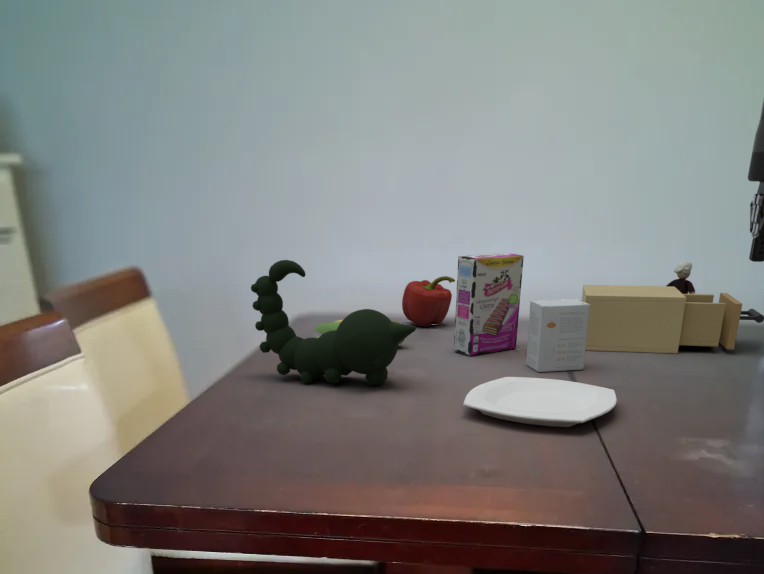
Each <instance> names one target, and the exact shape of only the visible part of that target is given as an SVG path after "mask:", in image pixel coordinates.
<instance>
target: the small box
mask: <svg viewBox="0 0 764 574" xmlns="http://www.w3.org/2000/svg"><path fill="white" fill-rule="evenodd" d="M589 308H590V304H588V303H585V302H582V300H581V299H577V298H563V299H562V298H561V299H541V300H530V302H529V316H528V330H527V331H528V332H527V346H526V347H527V348H526V362H525V364H526V366H528V367H530V368H531V369H532V370H534V371H535V372H536V373H547V372H548V373H549V372H566V371H580V370H581V371H582V370H584V368H585V361H586V360H585V358H586V350H585V349H586V339H587V328H588V319H589Z"/></svg>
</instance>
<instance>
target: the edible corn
mask: <svg viewBox="0 0 764 574" xmlns="http://www.w3.org/2000/svg"><path fill="white" fill-rule="evenodd" d="M342 320H343V319H338V320H334V321H330V322H323V323H319V324H317V325H316V326H314V327H313V330H314V331H315V332H316V333H318V334H321V335H322V334H324V333H325V332H328V331H335V330H337V328H338V326H339V324H340V323H341V321H342ZM391 321H392V322H393V323H394V324H401V323H400V322H399V321H393V320H391ZM321 335H318V336H316V335H315V338H319V337H320V336H321ZM407 337H408V336H407ZM407 337H406V338H404V339H403V340H402V341H400V342H399V344H398V346H399V345H401V344H402V343H403V342H404V341H405V340H406V339H407Z"/></svg>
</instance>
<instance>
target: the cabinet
mask: <svg viewBox="0 0 764 574" xmlns="http://www.w3.org/2000/svg"><path fill="white" fill-rule="evenodd" d="M581 301H582V302H585V303H588V304H590V308H589V319H588V328H587V339H586V349H585V351H593V352H595V351H596V352H598V351H600V352H620V353H621V352H623V353H651V354H652V353H653V354H678V353H679V348H680V345H679V342H680V335H681V329H682V323H683V316H684V310H685V303H686V297H685V296H684V295H683V294H682V293H681V292H680V291H679V290H678V289H677V288H675V287H670V286H666V285H663V286H662V285H661V286H660V285H616V284H615V285H612V284H611V285H609V284H607V285H606V284H582V293H581Z"/></svg>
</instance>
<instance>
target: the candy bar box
mask: <svg viewBox="0 0 764 574" xmlns="http://www.w3.org/2000/svg"><path fill="white" fill-rule="evenodd" d="M457 257H458V259H457V276H456V278H457V280H456V295H455V300H456V301H455V316H454V317H455V318H454V319H455V320H454V336H453V337H454V339H453V351H454V352H456V353H458V354H462V355H464V356H468V357H469V356H475V355H484V354H489V353H490V354H491V353H496V352H503V351H508V350H516V348H517V339H518V328H519V316H520V303H521V294H522V293H521V292H522V280H523V269H524V268H523V267H524V258H525V256H524V255H522V254H517V253H509V252H508V253H507V252H501V253H500V252H499V253H486V254H485V253H484V254H468V255H459V256H457Z"/></svg>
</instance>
